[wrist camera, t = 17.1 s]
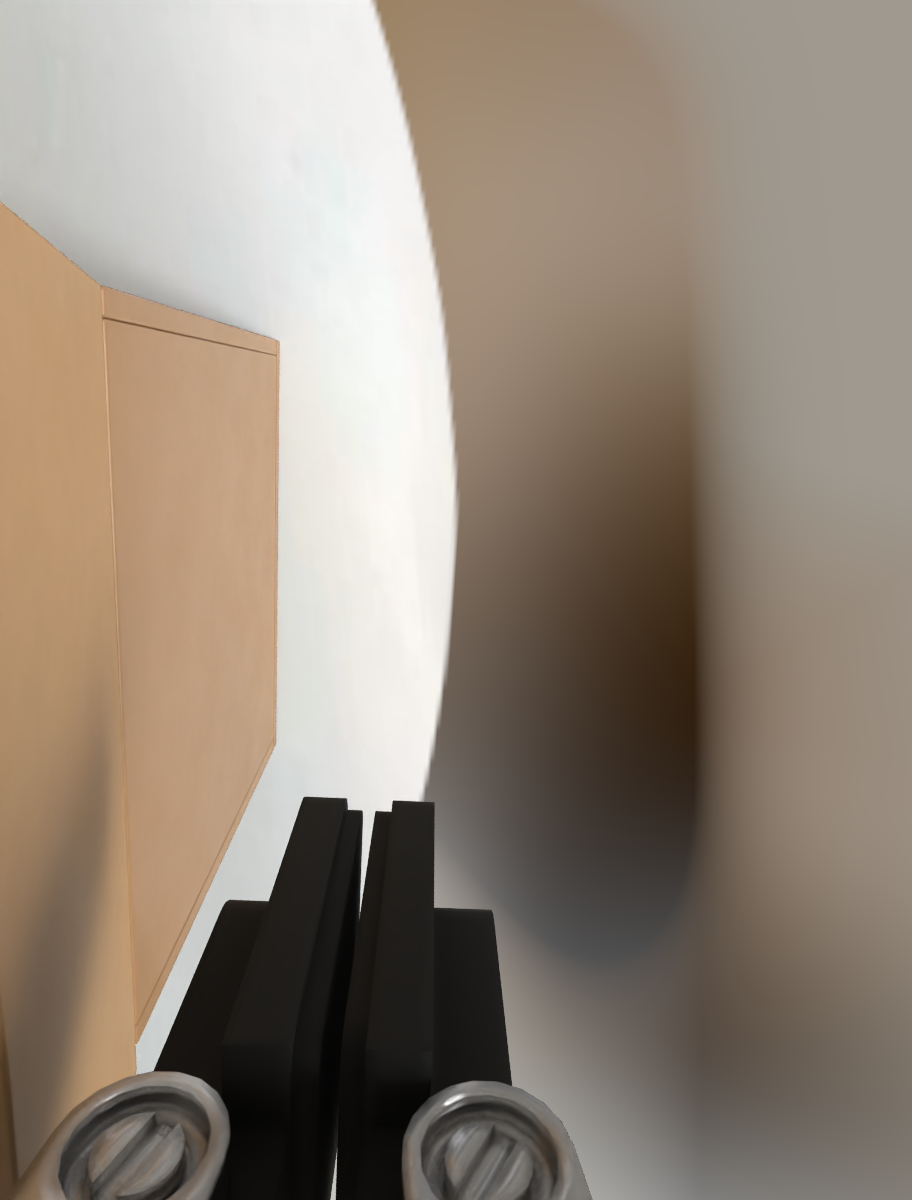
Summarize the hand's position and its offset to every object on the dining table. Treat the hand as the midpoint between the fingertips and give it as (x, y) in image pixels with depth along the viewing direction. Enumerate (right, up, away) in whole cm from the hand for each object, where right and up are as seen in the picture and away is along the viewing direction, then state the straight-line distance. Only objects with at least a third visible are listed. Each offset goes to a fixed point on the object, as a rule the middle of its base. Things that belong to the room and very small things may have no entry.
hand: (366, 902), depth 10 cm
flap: (-4, 0, 0) cm, 4 cm away
